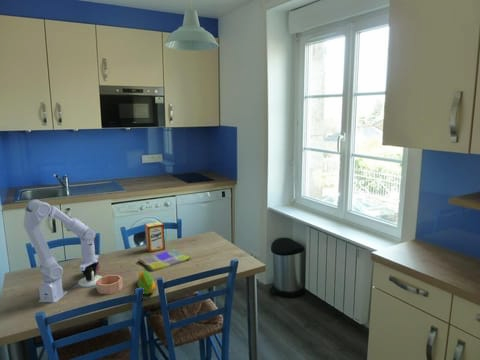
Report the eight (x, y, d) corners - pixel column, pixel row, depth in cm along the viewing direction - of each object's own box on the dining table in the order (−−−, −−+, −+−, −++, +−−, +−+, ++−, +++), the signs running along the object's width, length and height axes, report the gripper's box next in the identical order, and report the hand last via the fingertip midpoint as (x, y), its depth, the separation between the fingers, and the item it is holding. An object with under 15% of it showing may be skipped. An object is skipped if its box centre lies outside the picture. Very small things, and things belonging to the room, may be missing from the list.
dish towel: (191, 261, 198) (191, 256, 197) (149, 273, 183) (149, 268, 183) (176, 251, 212) (176, 247, 211) (136, 262, 197) (136, 257, 197)
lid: (96, 287, 167) (95, 276, 166) (73, 286, 168) (72, 276, 167) (107, 276, 178) (106, 267, 177) (85, 276, 179) (84, 266, 178)
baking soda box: (149, 252, 210) (147, 226, 207) (146, 249, 216) (144, 223, 213) (165, 249, 214) (163, 223, 211) (162, 246, 220) (160, 221, 217)
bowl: (116, 294, 161) (115, 285, 160) (93, 294, 162) (92, 285, 161) (125, 283, 171) (124, 275, 170) (104, 283, 172) (103, 274, 171)
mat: (97, 288, 167) (97, 287, 167) (72, 288, 168) (72, 287, 168) (108, 277, 179) (108, 276, 178) (85, 276, 179) (85, 276, 179)
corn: (141, 282, 155) (132, 266, 173) (141, 299, 156) (132, 281, 174) (158, 280, 158) (148, 264, 176) (158, 296, 160) (148, 278, 177)
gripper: (89, 257, 163) (91, 285, 165) (103, 246, 177) (105, 272, 180) (74, 257, 163) (76, 285, 166) (89, 246, 178) (92, 272, 180)
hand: (90, 278), depth 173 cm, fingers closed on lid, 3 cm apart
